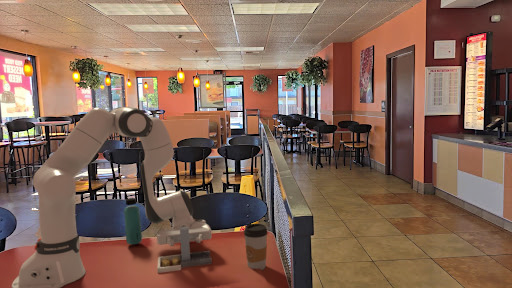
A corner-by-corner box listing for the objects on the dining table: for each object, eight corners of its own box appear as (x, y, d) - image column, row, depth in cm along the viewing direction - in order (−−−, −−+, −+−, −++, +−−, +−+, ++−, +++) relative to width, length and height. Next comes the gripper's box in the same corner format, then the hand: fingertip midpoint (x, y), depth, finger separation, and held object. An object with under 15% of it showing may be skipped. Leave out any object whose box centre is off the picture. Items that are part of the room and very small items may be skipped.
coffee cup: (240, 268, 138) (238, 227, 136) (256, 260, 144) (254, 221, 142) (257, 275, 133) (256, 233, 131) (273, 266, 139) (272, 226, 137)
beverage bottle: (137, 248, 159) (134, 201, 157) (123, 247, 161) (119, 200, 158) (145, 242, 166) (142, 196, 163) (131, 241, 167) (127, 196, 164)
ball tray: (157, 275, 135) (157, 268, 134) (158, 263, 144) (158, 256, 144) (181, 272, 136) (180, 265, 136) (180, 260, 146) (180, 254, 146)
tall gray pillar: (182, 265, 140) (180, 230, 138) (181, 260, 144) (179, 227, 142) (190, 264, 140) (188, 229, 139) (190, 259, 144) (188, 226, 143)
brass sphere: (170, 263, 139) (174, 256, 140) (169, 261, 142) (174, 254, 143) (177, 268, 140) (181, 260, 140) (176, 265, 143) (181, 258, 143)
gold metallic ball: (160, 267, 139) (163, 259, 139) (160, 263, 142) (163, 256, 142) (168, 269, 139) (171, 261, 139) (168, 265, 142) (171, 258, 142)
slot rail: (181, 270, 138) (180, 262, 138) (180, 261, 145) (180, 254, 145) (211, 266, 140) (211, 258, 140) (209, 258, 147) (209, 250, 147)
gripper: (156, 224, 151) (154, 237, 137) (208, 219, 155) (212, 231, 142) (157, 240, 152) (156, 254, 138) (209, 234, 156) (213, 247, 143)
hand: (185, 242), depth 140 cm, fingers open, 8 cm apart
